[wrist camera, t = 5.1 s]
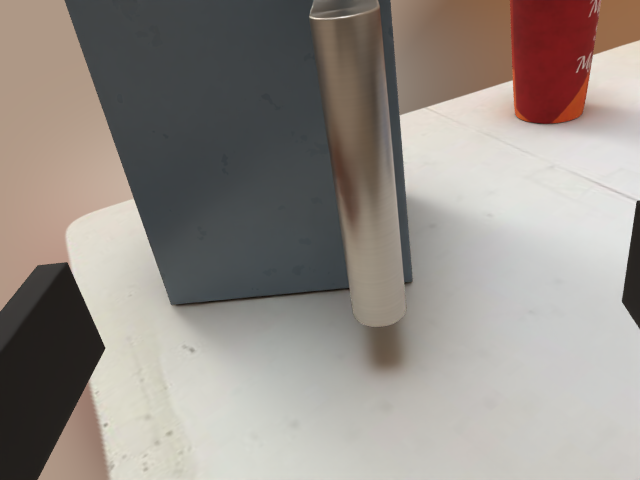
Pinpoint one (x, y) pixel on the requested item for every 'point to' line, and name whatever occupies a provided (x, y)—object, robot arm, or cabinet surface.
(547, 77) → the coffee cup
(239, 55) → the freezer door
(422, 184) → the cabinet surface
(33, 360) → the robot arm
